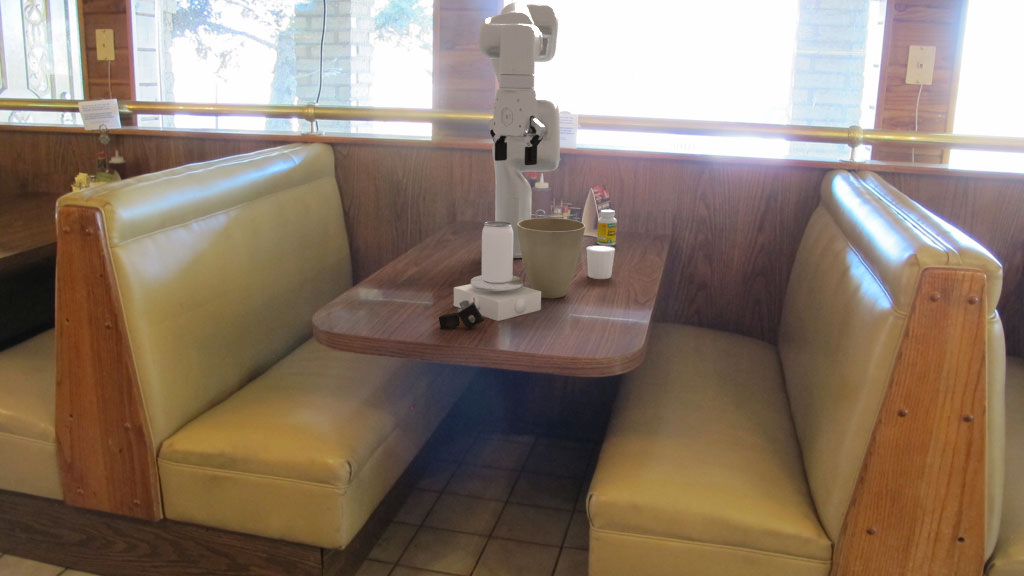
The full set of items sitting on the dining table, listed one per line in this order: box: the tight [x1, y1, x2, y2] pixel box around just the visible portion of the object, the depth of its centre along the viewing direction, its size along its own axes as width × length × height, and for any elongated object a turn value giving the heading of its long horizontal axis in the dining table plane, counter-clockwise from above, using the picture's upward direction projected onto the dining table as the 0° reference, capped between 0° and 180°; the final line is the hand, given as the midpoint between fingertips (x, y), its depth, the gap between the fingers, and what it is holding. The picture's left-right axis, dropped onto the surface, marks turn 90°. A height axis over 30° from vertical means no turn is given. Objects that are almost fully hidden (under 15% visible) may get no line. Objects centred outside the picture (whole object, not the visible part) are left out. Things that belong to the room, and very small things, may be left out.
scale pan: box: [470, 274, 525, 291], centre depth 176 cm, size 11×11×2 cm
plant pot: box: [517, 217, 586, 299], centre depth 186 cm, size 15×15×16 cm
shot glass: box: [586, 244, 616, 280], centre depth 203 cm, size 7×7×7 cm
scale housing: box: [453, 283, 542, 322], centre depth 176 cm, size 14×12×4 cm
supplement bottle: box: [596, 209, 618, 247], centre depth 238 cm, size 5×5×10 cm
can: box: [481, 220, 514, 284], centre depth 174 cm, size 6×6×12 cm
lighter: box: [438, 300, 485, 330], centre depth 163 cm, size 8×2×5 cm
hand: (515, 162), depth 187 cm, fingers open, 9 cm apart
